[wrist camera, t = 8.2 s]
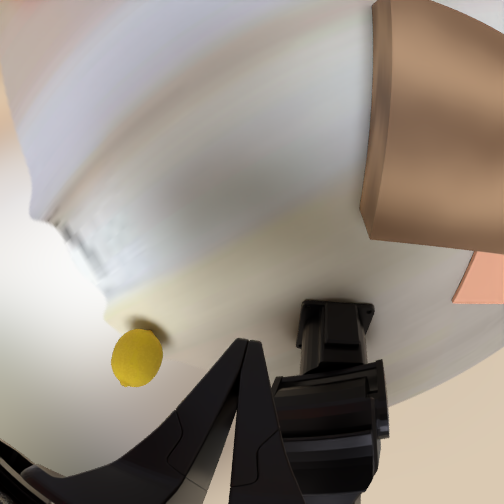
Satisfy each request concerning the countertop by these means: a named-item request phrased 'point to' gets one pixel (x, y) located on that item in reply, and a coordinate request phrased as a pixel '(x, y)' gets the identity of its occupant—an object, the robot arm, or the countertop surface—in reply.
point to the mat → (482, 280)
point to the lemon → (136, 358)
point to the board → (435, 129)
